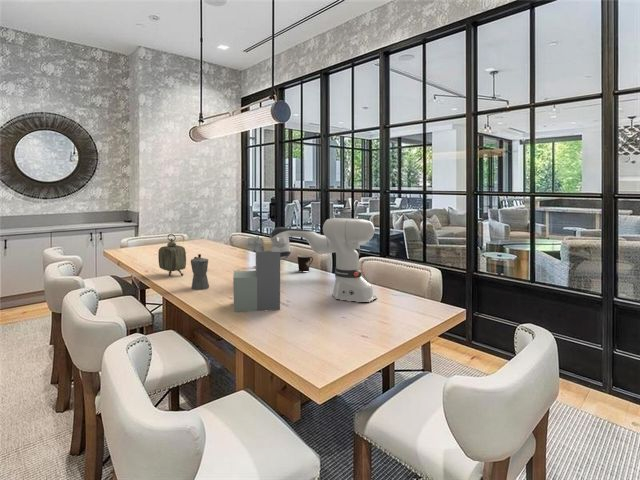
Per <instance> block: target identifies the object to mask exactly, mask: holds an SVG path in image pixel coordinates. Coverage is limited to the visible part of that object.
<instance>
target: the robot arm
mask: <svg viewBox="0 0 640 480" xmlns="http://www.w3.org/2000/svg"><path fill="white" fill-rule="evenodd" d="M375 230H376V229H375V226H374V224H373V222H372V221H370V220H367V219H362V218H349V217H334V218H333V217H331V218H328V219H326V220H325V222H324V223H323V226H322V232H323V234H319V233H317V232H316V231H315V230H312V229H305V228H304V229H302V228H290V227H286V226H285V227H283V226H277V227H274V228H273V230H272V231H271V233H270V235H271V237H269V238H270V240H271V241H272V243H273V247H278V249H279V250H280V261H281V260H285V259H287V258H288V257H289V256H290V255H291V253H292V251H291V244H290V237H295V238H303V239H304V240H306V242H307V243H308V244H309V246H310V249H312V251H313V252H314V253H316V254H319V255H327V254H334V253H335V259H336V260H335V263H336V264H335V265H336V266H335V270H334V276H335V280H334V281H335V282H334V286H333V290H332V291H333V292H332V295H333V296H334V297H333V298H334V299H335V300H336V299H340V300H339V301H343V300H347V301H346V302H351V301H357V302H356V303H358V302H369V301H372V300H374V299H376V298H377V299H378V295H377V294H374V292H373V286H372V284H371V283H370V282H368V281H367V280H366V279H365V278H364V276H362V274H363V273H364V272H363V271H364V270H363V269H362V270H360V268H359V256H361V248H360V247H361V246H363V245H366V244H368V243H369V242H370V241H371V240H372V238H373V237H374V235H375ZM247 246H248V248H249V249H250V251H251V252H253V253H254V252H255V253H256V247H263V246H262V237H260V236H258V235H257V236H256V237H248V238H247ZM332 295H331V296H332ZM377 299H376V300H377ZM372 302H373V301H372ZM369 303H370V302H369Z"/></svg>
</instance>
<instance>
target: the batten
mask: <svg viewBox="0 0 640 480" xmlns="http://www.w3.org/2000/svg"><path fill="white" fill-rule="evenodd" d="M261 238H262V246H263V249H264V251H272V247H273V243H272V241H271V240H270V238H271V237H266V236H265V237H262V236H261Z"/></svg>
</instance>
